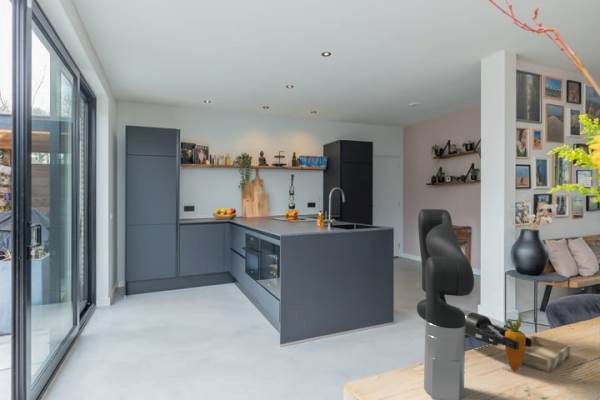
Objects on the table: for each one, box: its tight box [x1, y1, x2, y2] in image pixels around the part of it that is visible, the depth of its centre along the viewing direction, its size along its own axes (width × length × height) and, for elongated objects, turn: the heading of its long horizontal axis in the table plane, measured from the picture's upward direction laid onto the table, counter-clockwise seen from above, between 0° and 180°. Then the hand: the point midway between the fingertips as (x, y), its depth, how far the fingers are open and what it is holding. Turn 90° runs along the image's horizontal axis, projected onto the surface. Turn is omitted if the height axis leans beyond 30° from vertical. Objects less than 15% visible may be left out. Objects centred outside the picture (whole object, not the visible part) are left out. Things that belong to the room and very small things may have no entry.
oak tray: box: [521, 335, 571, 375], centre depth 106 cm, size 18×10×4 cm, turn 127°
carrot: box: [504, 317, 527, 372], centre depth 98 cm, size 5×5×15 cm
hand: (524, 344), depth 95 cm, fingers closed on carrot, 5 cm apart
